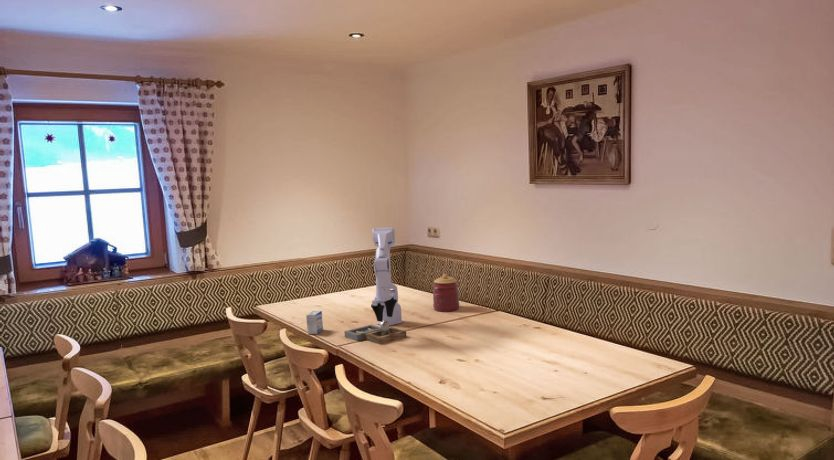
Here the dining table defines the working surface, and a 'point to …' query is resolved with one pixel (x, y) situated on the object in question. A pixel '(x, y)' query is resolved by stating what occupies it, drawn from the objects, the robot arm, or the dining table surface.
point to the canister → (445, 294)
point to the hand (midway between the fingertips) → (384, 318)
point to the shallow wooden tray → (380, 339)
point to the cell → (384, 328)
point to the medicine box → (314, 322)
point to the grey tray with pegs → (360, 332)
